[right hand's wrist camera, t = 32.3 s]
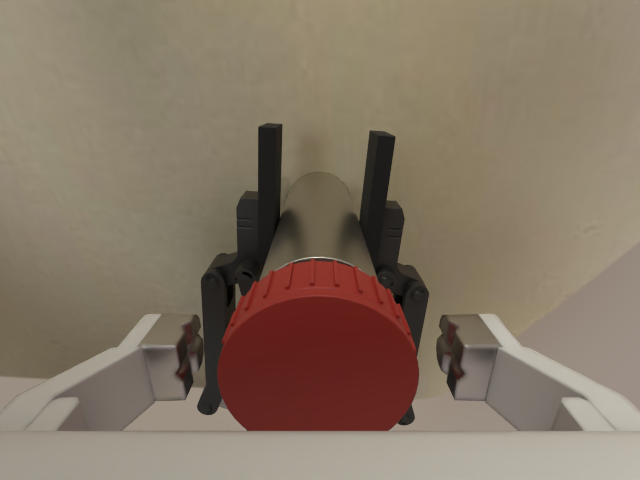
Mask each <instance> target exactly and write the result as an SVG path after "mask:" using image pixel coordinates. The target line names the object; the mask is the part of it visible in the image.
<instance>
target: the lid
mask: <svg viewBox="0 0 640 480" xmlns="http://www.w3.org/2000/svg"><path fill="white" fill-rule="evenodd" d="M411 335H412V334H411V331H410V329H409V326H408V324H407V321H406V319H405V316H404V314H403V311H402V308H401V306H400V304H396V302H395V301H394V298H393V295H392V293H391V290H390V289H389V288H388V289H385V288H384V286H383V285H381V284H380V283H379V282H378V281H377V278H376V276H374V275H373V276H372V277H371V276H369V275H368V274H366V273H364V272H362V271H360V270H359V269H358V267H357V266H354V267H350V266H347V265H344V264H340V263H337V261H336V260H333V262H326V261H315V259H311V261H309V262H302V263H296V264H293V262H291V263H289V266H286V267H283V268H281V269H279V270H276V271H273V270H271V271H269V274H268V275H267V276H265V277H264V278H263V279H261V280H260V281H259V282H258V283H257V282H256V281H255V282H254V283H253V284H252V287H251V289H250V290H249V291H248V293H247V294H246V296H243V295H242V296H241V298H240V301H239V303H238V305H237V308H236V310H235V311H234V313H233V315H232V317H231V320H230V322H229V325H228V327H227V330H226V332H225V335H224V337H223V340H222V342H221V343H222V344H224V346H223V348H222V351H221V354H220V357H219V362H218V369H217V375H218V385H219V390H220V393H221V396H222V398H223V401H224V403H225V405H226V406H227V408H228V410H229V411H230V413H231V414H232V415H233V417H234V418H235V419H236V420H237V421H238V422H239V423H240V424H241V425H242V426H243V427H244V428H245V429H247V430H248V431H388V430H390V429H391V428H392V427H393V426H394V425H395V424H397V423H398V422H399V421H400V419H401V418H402V417H403V416H404V415H405V413H406V412H407V410H408V409H409V407H410V405H411V404H412V401H413V399H414V397H415V394H416V390H417V386H418V379H419V368H418V361H417V357H416V353H417V349H416V347H415V344H414V342H413V339H412V337H411Z"/></svg>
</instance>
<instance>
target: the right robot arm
mask: <svg viewBox="0 0 640 480" xmlns="http://www.w3.org/2000/svg"><path fill="white" fill-rule="evenodd" d="M200 327H201V325H200V319H199V317H198V316H197V315H196V314H146V315H144V316H143V317H142V318H141V319H140V321H139V322H138V323H137V324H136V325H135V327H134V328H133V329H132V330H131V331H130V333H129V334H128V335H127V336H126V337H125V339H124V340H123V341H122V342H121V343H120V345H119V346H118V347H112V348H110V349H108V350H106V351H104V352H102V353H100V354H98V355H96V356H94V357H92V358H90V359H88V360H86V361H84V362H82V363H80V364H78V365H76V366H74V367H72V368H70V369H68V370H66V371H64V372H62V373H60V374H58V375H56V376H54V377H53V378H51V379H49V380H47V381H45V382H43V383H41V384H39V385H37V386H35V387H33V388H31V389H29V390H27V391H25V392H23V393H21V394H19V395H17V396H16V397H15V398H14V399H13V400H12V401H11V402H10V403H9V404H8V405H7V406H5V407H4V408H3V409H2V410H1V411H0V480H640V411H639V410H638V409H637V408H636V407H635V406H634V405H633V404H632V403H631V402H630V401H628V400H627V399H626V398H625V397H624V396H623V395H621V394H619V393H617V392H615V391H613V390H611V389H609V388H607V387H605V386H603V385H601V384H599V383H597V382H595V381H593V380H591V379H589V378H587V377H585V376H583V375H581V374H579V373H577V372H576V371H574V370H572V369H570V368H568V367H566V366H564V365H562V364H560V363H558V362H556V361H554V360H552V359H550V358H548V357H546V356H544V355H542V354H540V353H538V352H536V351H534V350H532V349H530V348H528V347H522V346H521V345H520V343H519V342H518V341H517V340H516V339H515V337H514V336H513V335H512V334H511V333H510V331H509V330H508V329H507V328H506V327H505V325H504V324H503V323H502V322H501V321H500V319H499V318H498V317H497V316H496V315H494V314H467V315H442V317H441V319H440V324H439V327H440V329H441V331H442V333H443V334H442V335H441V336H440V337H439V338H438V339H437V346H436V352H437V360H438V364H439V366H440V369H441V371H443V372H444V373H445V374H447V375H448V376H447V384H448V386H449V388H450V391H451V393H452V395H453V397H454V399H455V400H468V401H486V403H487V404H488V405H489V406H490V407H491V408H493V409H494V410H495V411H496V412H497V413H498V414H500V415H501V416H502V417H503V418H504V419H505V420H506V421H508V422H509V423H510V424H511V425H512V426H513V427H515V428H516V429H517V430H518V431H122V430H123V429H124V428H126V427H127V426H128V425H129V424H130V423H131V422H132V421H134V420H135V419H136V418H137V417H138V416H139V415H141V414H142V413H143V412H144V411H145V410H146V409H148V408H149V407H150V406H151V405H152V404H153V403H154V401H172V400H185V399H186V397H187V395H188V393H189V391H190V388H191V386H192V384H193V376H192V375H193V374H195V373H196V372H197V371H199V369H200V366H201V364H202V359H203V354H204V345H203V339H202V338H201V337H200V336H199V335H198V334H197V333H198V331H199V329H200Z"/></svg>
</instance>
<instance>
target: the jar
mask: <svg viewBox="0 0 640 480" xmlns="http://www.w3.org/2000/svg"><path fill="white" fill-rule="evenodd" d="M311 259H315V261H326V262H333V260H336V261H337V263H340V264H344V265H347V266H350V267H354V266H357V267H358V269H359V270H360V271H362V272H364V273H366V274H368V275H369V276H371V277H372V276H373V275H374V276H376V273H375V270H374V267H373V264H372V261H371V258H370V255H369V251H368V248H367V245H366V242H365V239H364V236H363V233H362V230H361V227H360V224H359V221H358V218H357V215H356V211H355V208H354V205H353V202H352V199H351V196H350V193H349V191H348V189H347V187H346V186H345V184H344V183H343V182H342V181H341V180H340V179H338V178H337V177H335V176H334V175H331V174H328V173H323V172H315V173H310V174H307V175H305V176H303V177H301V178H300V179H298V180H297V181H296V182H295V183H294V185H293V186H292V187H291V189H290V191H289V194H288V197H287V200H286V203H285V206H284V209H283V212H282V215H281V218H280V221H279V223H278V226H277V229H276V232H275V235H274V238H273V241H272V244H271V247H270V250H269V253H268V256H267V259H266V262H265V265H264V268H263V271H262V274H261V277H260V280H261V279H263V278H264V277H265V276H267V275H268V274H269V271H271V270H273V271H276V270H279V269H281V268H283V267H286V266H289V263H291V262H293V264H296V263H302V262H309V261H311ZM376 278H377V276H376ZM260 280H259V281H260ZM377 281H378V279H377Z"/></svg>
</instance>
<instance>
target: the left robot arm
mask: <svg viewBox="0 0 640 480" xmlns="http://www.w3.org/2000/svg"><path fill="white" fill-rule="evenodd" d="M394 144H395V136H393V135H391V134H389V133H387V132H384V131H370V134H369V142H368V151H367V159H366V168H365V177H364V185H363V194H362V202H361V211H360V219H359V224H360V227H361V230H362V233H363V236H364V239H365V242H366V245H367V248H368V251H369V255H370V258H371V261H372V264H373V267H374V270H375V273H376V276H377V279H378V282H379V283H380V284H381V285H383V286H384V288H385V289H388V288H389V289H390V290H391V293H393V298H394V301H395V302H396V304H400V306H401V308H402V311H403V314H404V316H405V319H406V321H407V324H408V326H409V329H410V331H411V334H412V335H411V337H412V339H413V342H414V344H415V347H416V349H417V353H418V348H419V343H420V338H421V333H422V328H423V323H424V318H425V312H426V307H427V302H428V297H429V292H428V290H427V288H426V286H425V284H424V283H423V281H422V279H421V277H420V276H419V274H418V272H417V271H416V269H415V268H414V267H413V266H411V265H402V264H399V263H398V262H397V261H398V255H399V249H400V243H401V237H402V229H403V225H404V215H403V211H402V208H401V207H400V205H399V204H398V203H397V202H396V201H387V200H386V199H387V192H388V185H389V178H390V171H391V164H392V157H393V151H394ZM281 154H282V124H272V123H266V124H264V125H262V126H259V127H258V192H254V191H246V192H245V193H244V194H243V196H242V197H241V198H240V201H239V203H238V206H237V248H238V251H237V252H235V253H232V254H226V253H222V254H219V255H217V256H216V258H215V259H214V260H213V262H212V263H211V265H210V266H209V268H208V269H207V271H206V272H205V274H204V275H203V277H202V279H201V291H202V311H203V331H204V351H205V372H206V385H205V387H204V390H203V393H202V395H201V398H200V400H199V402H198V405H197V408H198V410H199V411H200V412H201V413H202V414H205V415H212V414H214V413H215V412H216V411H217V409H218V407H219V406H220V407H223V408H226V409H228V408H227V406H226V405H225V403H224V401H223V398H222V396H221V393H220V390H219V385H218V375H217V369H218V362H219V357H220V354H221V351H222V348H223V346H224V344H222V343H221V342H222V340H223V337H224V335H225V332H226V330H227V327H228V325H229V322H230V320H231V317H232V315H233V313H234V311H235V284H236V283H238V284H239V288H240V291H241V295H243V296H246V294H247V293H248V291H249V290H250V289H251V287H252V284H253V283H254V282H255V281H256V282H257V283H258V282H259V280H260V277H261V274H262V271H263V268H264V265H265V262H266V259H267V256H268V253H269V250H270V247H271V244H272V241H273V238H274V235H275V232H276V229H277V226H278V223H279V221H280V192H281ZM417 353H416V357H417ZM414 419H415V416H414V412H413V408H412V405H410V407H409V409H408V410H407V412H406V413H405V415H404V416H403V417H402V418H401V419H400V421H399V422H398V424H400V425H408V424H411V423H412V422H413V421H414ZM246 430H247V429H246ZM247 431H248V430H247Z"/></svg>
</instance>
